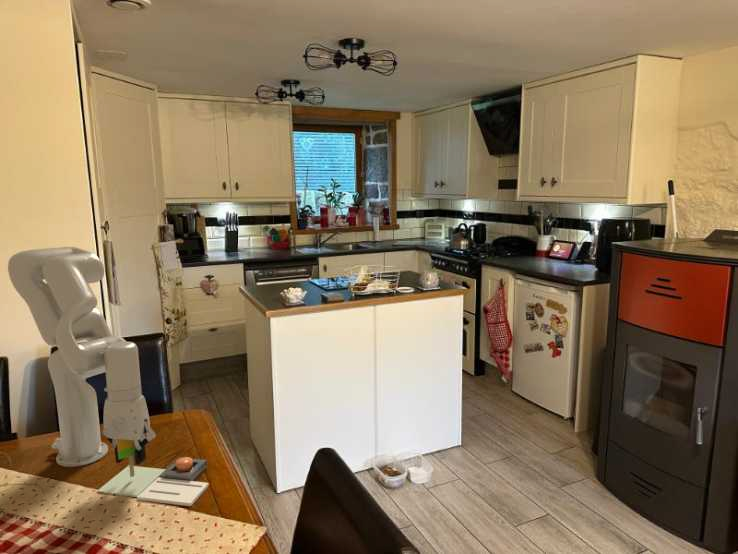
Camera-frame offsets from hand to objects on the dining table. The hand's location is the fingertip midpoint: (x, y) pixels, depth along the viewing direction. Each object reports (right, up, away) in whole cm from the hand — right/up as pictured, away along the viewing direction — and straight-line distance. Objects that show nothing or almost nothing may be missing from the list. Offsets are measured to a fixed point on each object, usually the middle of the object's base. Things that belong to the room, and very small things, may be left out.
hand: (130, 460), depth 129 cm
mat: (0, -6, +1) cm, 6 cm away
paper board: (+12, -7, -4) cm, 14 cm away
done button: (+12, -4, +4) cm, 13 cm away
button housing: (+12, -5, +5) cm, 14 cm away
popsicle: (0, -4, +1) cm, 4 cm away
